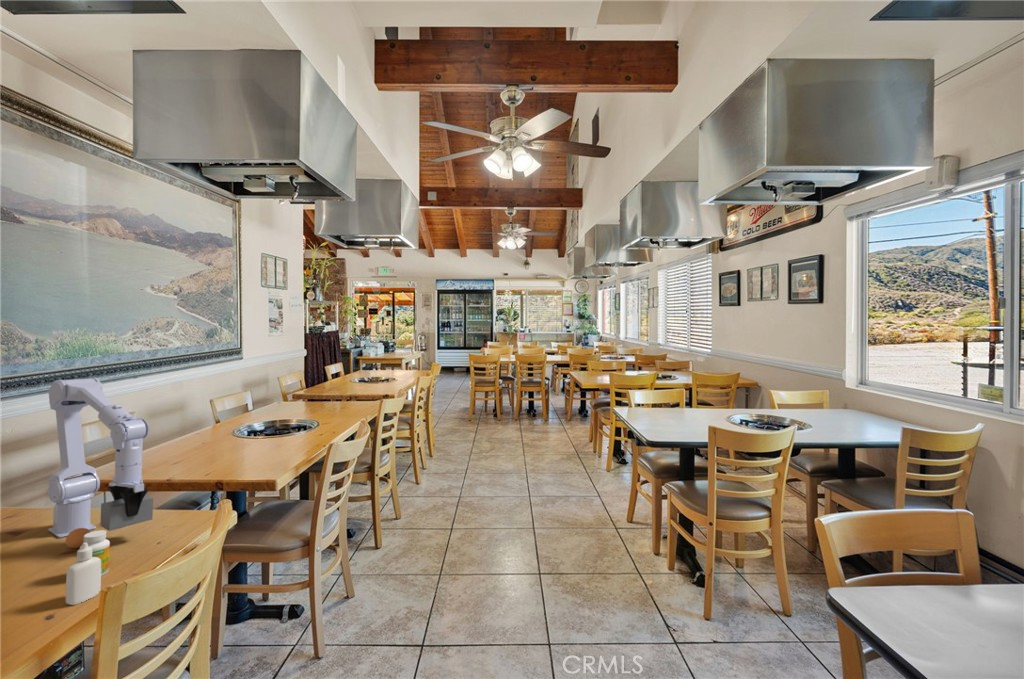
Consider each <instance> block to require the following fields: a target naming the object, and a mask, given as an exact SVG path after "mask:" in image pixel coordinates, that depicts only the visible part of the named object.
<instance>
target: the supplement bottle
mask: <svg viewBox="0 0 1024 679" xmlns="http://www.w3.org/2000/svg"><path fill="white" fill-rule="evenodd" d="M86 542H87V544H88V547H92V557H98V558H100V559H101V577H102V576H104V575H106V574H107V573H108V572H109V571H110V556H111V555H110V553H111V552H110V548H111V541H110V540H108V539H107V531H106V530H105V529H104V530H93V531H90V533H87V534H85V535H84V543H86ZM81 548H82V545H81V547H80V548H79V549H81Z"/></svg>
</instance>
